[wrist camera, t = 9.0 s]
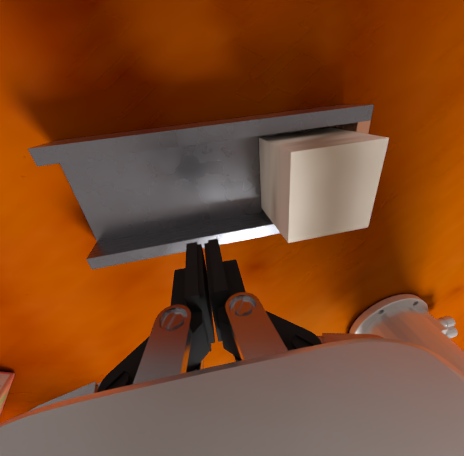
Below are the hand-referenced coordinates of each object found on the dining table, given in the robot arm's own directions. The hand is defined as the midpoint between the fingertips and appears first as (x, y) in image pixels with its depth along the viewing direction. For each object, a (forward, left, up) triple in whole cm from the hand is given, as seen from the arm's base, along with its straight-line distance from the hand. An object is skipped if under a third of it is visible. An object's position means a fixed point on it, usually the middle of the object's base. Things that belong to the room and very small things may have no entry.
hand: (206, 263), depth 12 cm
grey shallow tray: (-2, -2, -9) cm, 9 cm away
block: (-9, -2, -9) cm, 13 cm away
